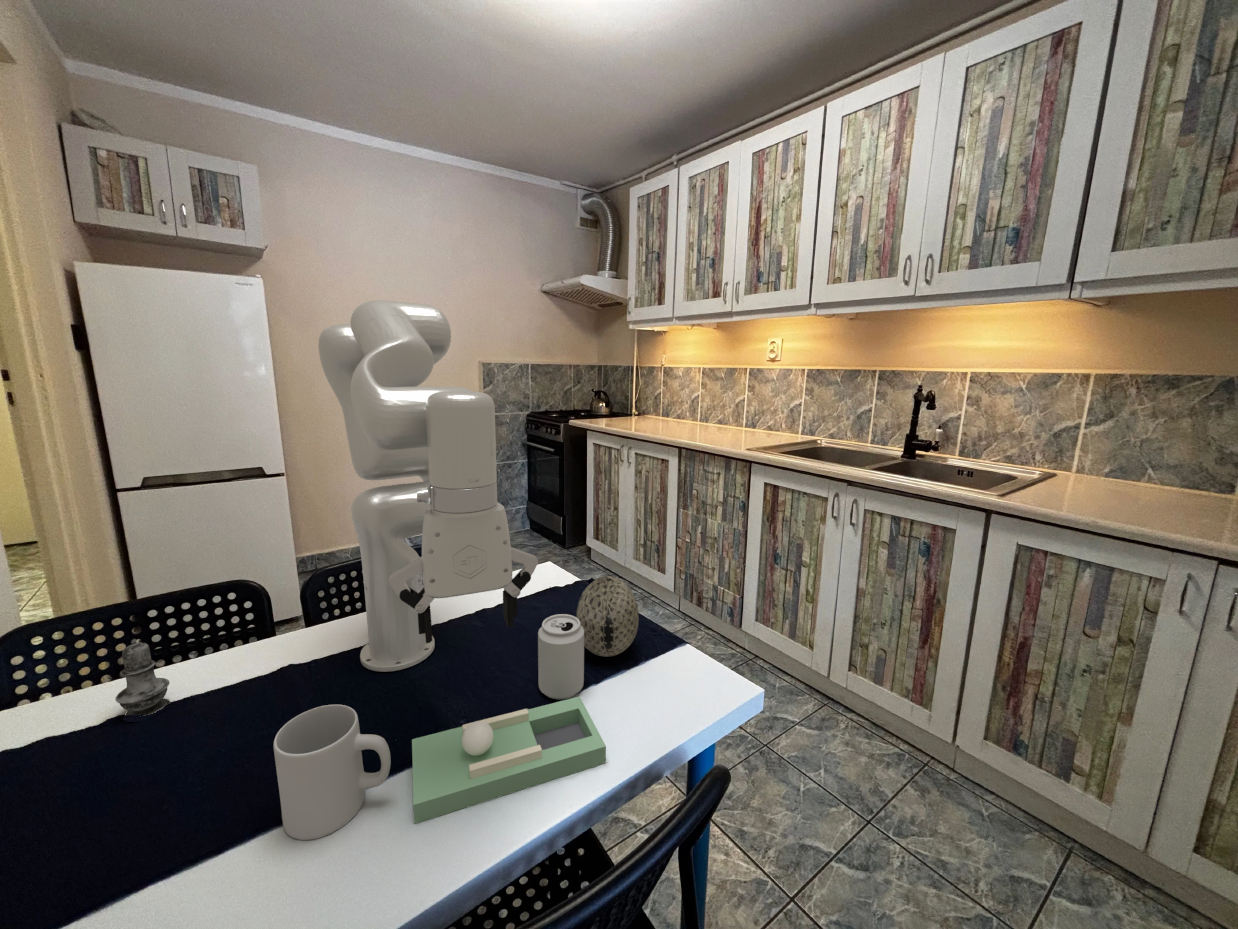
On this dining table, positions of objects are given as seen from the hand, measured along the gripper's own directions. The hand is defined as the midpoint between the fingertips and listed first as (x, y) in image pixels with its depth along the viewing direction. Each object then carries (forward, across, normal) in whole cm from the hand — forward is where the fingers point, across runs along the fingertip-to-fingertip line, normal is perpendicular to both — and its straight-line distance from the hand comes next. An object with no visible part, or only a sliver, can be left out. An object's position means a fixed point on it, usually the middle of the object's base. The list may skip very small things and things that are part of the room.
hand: (469, 629), depth 61 cm
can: (+20, +16, +12) cm, 28 cm away
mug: (+20, -16, 0) cm, 26 cm away
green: (+20, +4, 0) cm, 21 cm away
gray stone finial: (+20, -44, +30) cm, 58 cm away
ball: (+16, 0, 0) cm, 16 cm away
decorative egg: (+20, +27, +19) cm, 38 cm away
